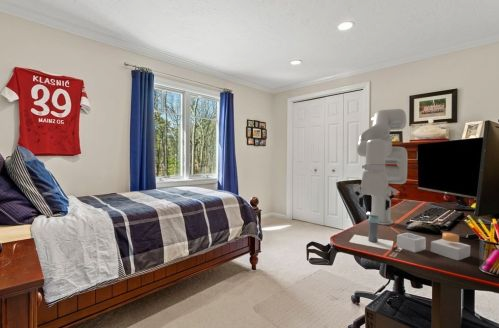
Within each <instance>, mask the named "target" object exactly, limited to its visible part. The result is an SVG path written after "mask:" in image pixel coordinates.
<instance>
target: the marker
mask: <svg viewBox="0 0 499 328" xmlns="http://www.w3.org/2000/svg"><path fill="white" fill-rule="evenodd" d="M368 218H369V221H368V236H367V237H368V241H369V242H372V243H377V242H378V239H379V224H378V216H375V215H369V216H368Z"/></svg>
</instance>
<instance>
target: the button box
mask: <svg viewBox="0 0 499 328" xmlns="http://www.w3.org/2000/svg"><path fill="white" fill-rule="evenodd" d="M471 246H472V245H469V244H467V243H462V242H460V241H459V242H450V241H446V240H444V239H442V238H440V239H437V240H431V241H430V253H431V252H432V253H434V254H437V255H439V256H443V257H445V258H448V259H451V260H455V261H460V260H463V259H466V258H468V257H471Z"/></svg>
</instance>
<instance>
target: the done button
mask: <svg viewBox="0 0 499 328" xmlns="http://www.w3.org/2000/svg"><path fill="white" fill-rule="evenodd" d="M441 239H444V240H446V241H450V242H459V243H460V235H459V234H456V233H452V232H442V237H441Z"/></svg>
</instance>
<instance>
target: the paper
mask: <svg viewBox="0 0 499 328" xmlns="http://www.w3.org/2000/svg"><path fill="white" fill-rule="evenodd" d="M368 237H369V236H365V235H359V234H353V236H352V237H351V238H350V240H349V241H348V242H349V243H352V244H357V245H363V246H367V247H374V248H378V249H383V250H390V251H392V250H393V245H394V241H393V240H389V239H381V238H378V242H377V243H372V242H369V241H368Z"/></svg>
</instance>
